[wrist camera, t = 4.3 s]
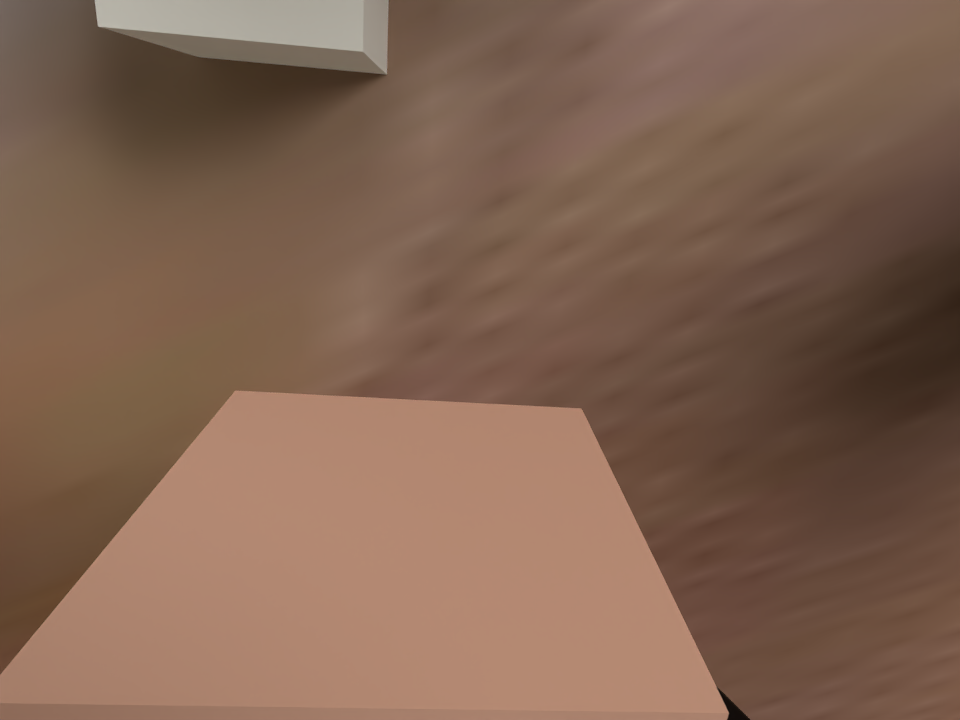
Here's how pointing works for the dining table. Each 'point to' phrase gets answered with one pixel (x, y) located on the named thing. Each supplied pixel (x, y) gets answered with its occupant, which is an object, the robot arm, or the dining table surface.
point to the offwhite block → (260, 30)
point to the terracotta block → (372, 579)
